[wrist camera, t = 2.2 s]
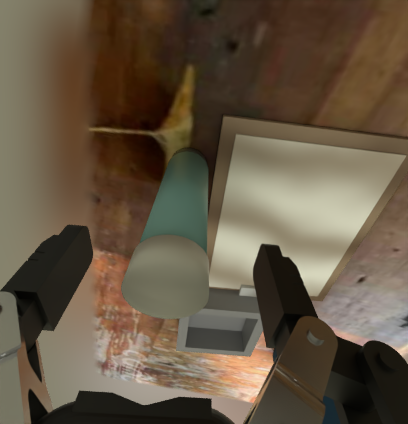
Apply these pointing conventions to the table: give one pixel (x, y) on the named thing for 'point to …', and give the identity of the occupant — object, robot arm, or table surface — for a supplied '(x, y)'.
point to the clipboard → (296, 197)
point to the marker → (173, 244)
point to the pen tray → (222, 325)
